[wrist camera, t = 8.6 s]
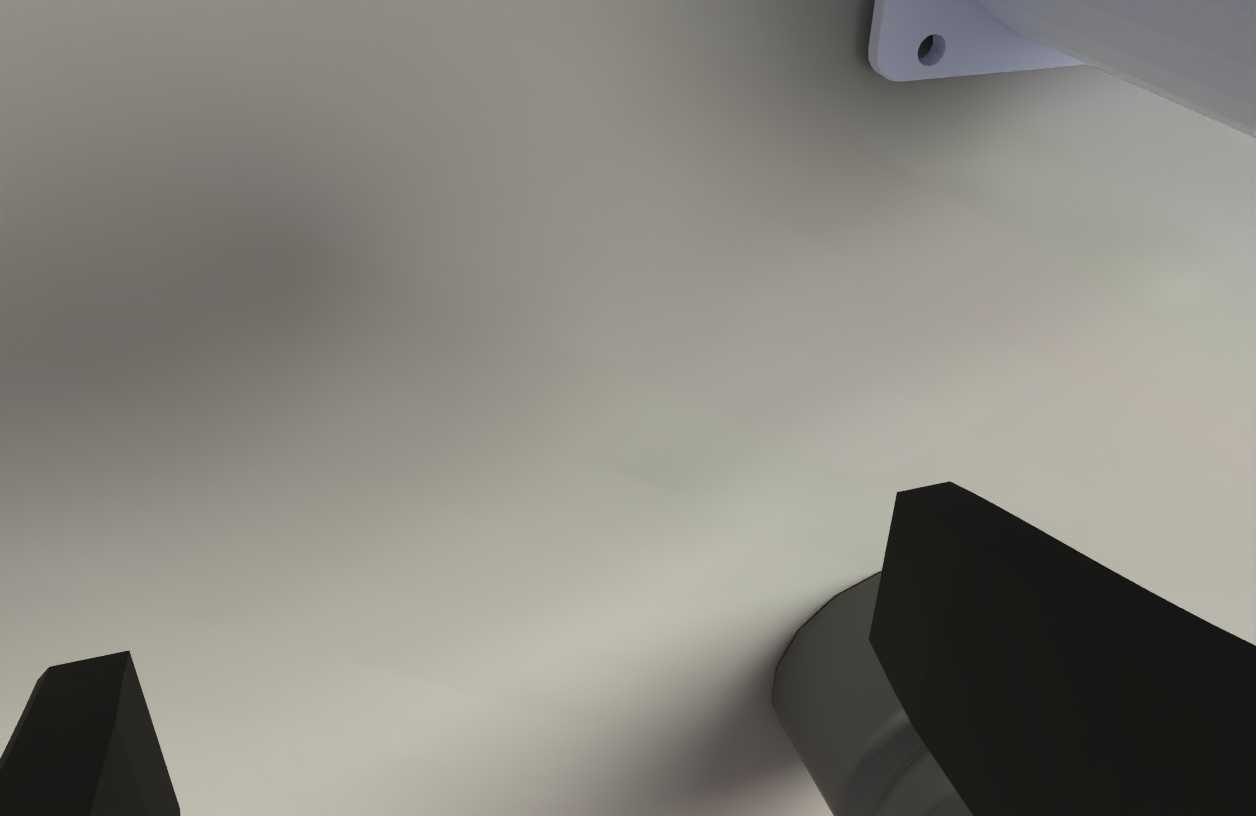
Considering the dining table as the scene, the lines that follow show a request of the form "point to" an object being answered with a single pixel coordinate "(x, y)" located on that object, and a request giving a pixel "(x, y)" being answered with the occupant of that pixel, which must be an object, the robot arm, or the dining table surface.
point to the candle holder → (856, 719)
